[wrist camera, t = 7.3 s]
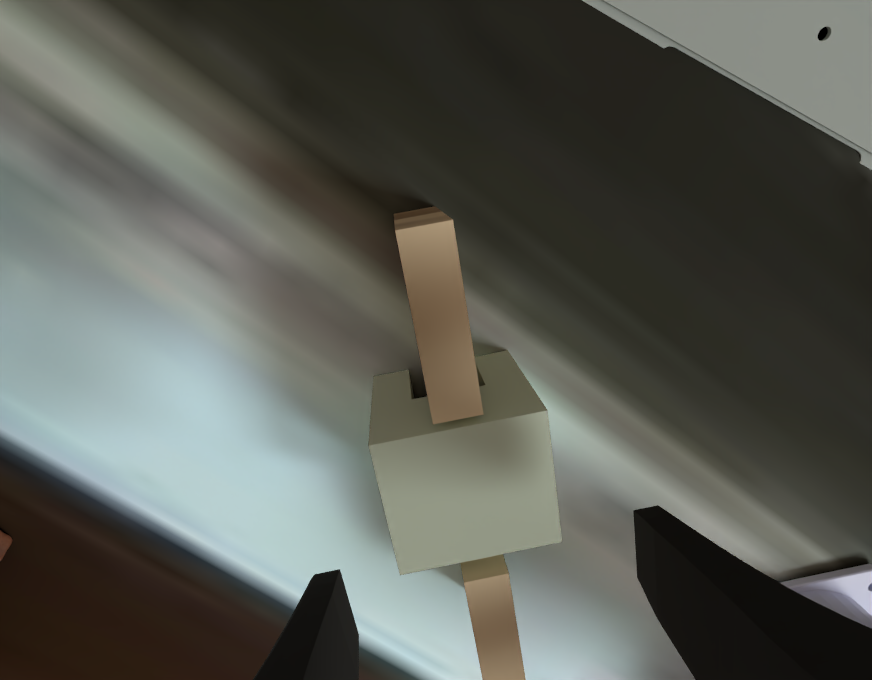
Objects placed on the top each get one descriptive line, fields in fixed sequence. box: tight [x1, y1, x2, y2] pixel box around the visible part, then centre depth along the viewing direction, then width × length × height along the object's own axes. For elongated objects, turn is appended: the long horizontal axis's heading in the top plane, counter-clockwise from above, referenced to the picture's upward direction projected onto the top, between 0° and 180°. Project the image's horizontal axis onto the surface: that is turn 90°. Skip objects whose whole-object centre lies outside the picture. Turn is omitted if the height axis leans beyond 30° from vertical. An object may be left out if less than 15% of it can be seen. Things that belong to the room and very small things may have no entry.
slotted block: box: [368, 350, 562, 575], centre depth 17 cm, size 4×5×5 cm
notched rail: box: [393, 206, 525, 680], centre depth 17 cm, size 16×1×5 cm, turn 10°
